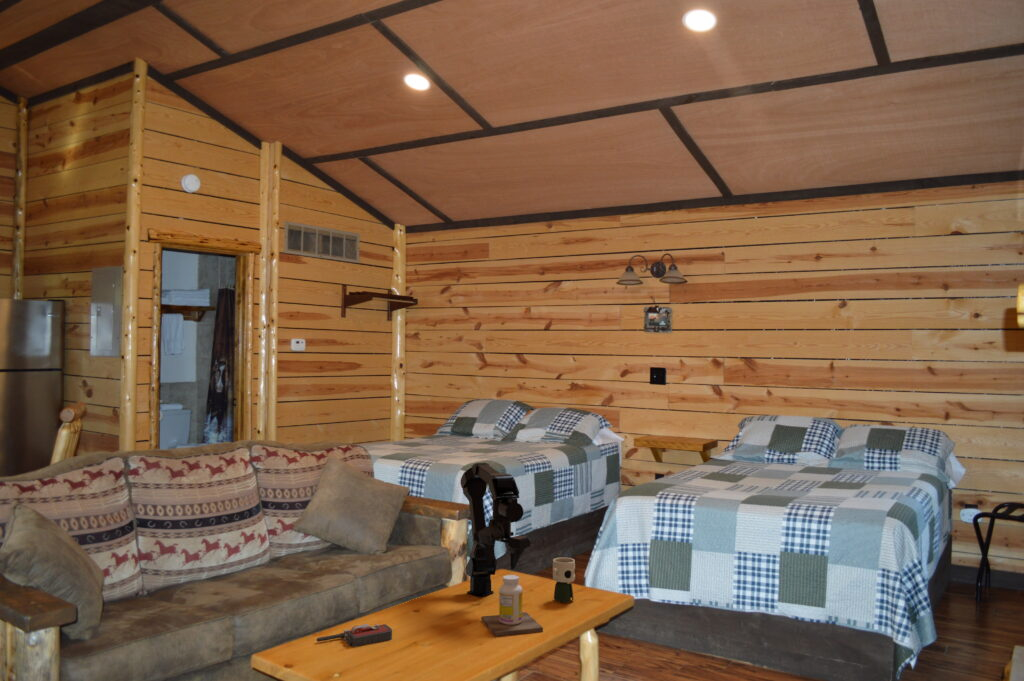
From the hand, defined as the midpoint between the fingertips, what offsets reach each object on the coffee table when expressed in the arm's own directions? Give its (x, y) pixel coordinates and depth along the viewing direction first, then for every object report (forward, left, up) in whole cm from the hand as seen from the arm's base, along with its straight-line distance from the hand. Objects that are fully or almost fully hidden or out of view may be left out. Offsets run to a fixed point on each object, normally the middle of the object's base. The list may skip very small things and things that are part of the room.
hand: (501, 567), depth 244 cm
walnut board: (+12, -9, -13) cm, 20 cm away
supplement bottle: (+12, -9, -12) cm, 19 cm away
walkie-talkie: (-12, -46, -14) cm, 49 cm away
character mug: (+9, +20, -13) cm, 26 cm away
